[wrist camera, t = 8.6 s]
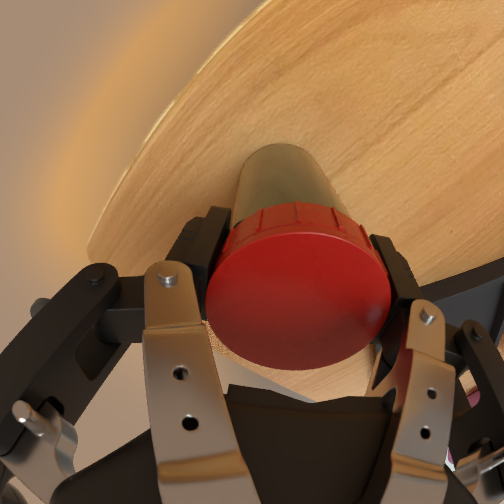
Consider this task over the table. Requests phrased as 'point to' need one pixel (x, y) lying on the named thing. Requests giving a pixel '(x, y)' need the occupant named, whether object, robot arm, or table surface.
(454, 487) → the robot arm
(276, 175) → the jar
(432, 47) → the table surface
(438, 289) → the tray
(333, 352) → the lid
